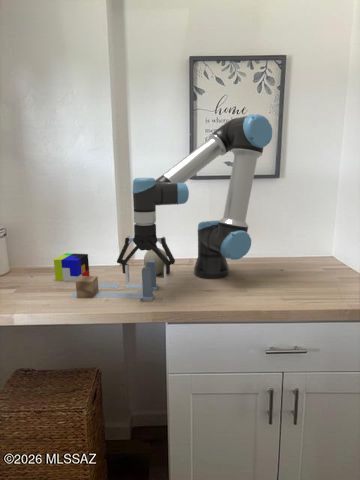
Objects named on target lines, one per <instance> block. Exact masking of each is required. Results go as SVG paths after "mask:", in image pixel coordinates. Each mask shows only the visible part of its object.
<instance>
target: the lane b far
mask: <svg viewBox="0 0 360 480" xmlns="http://www.w3.org/2000/svg"><path fill="white" fill-rule="evenodd" d="M120 285H121V283H118V282H117V283H113V282H112V283H110V282H109V283H108V282H105V283H104V282H103V283H101V282H98V289H118V288H119V286H120Z"/></svg>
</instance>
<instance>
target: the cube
mask: <svg viewBox="0 0 360 480" xmlns="http://www.w3.org/2000/svg"><path fill="white" fill-rule="evenodd" d="M98 278H99V275H90V276H81V277H80V278H79V279H78V280H77V281H76V282H75V289H76V290H75V292H77V297H76V298H83V299H84V298H85V299H86V298H93V299H94V298H95V297H94V296H95V295H96V294H97V293H98V292H100V291H99V288H98V283H99V279H98Z"/></svg>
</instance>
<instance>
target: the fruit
mask: <svg viewBox="0 0 360 480" xmlns="http://www.w3.org/2000/svg"><path fill="white" fill-rule="evenodd" d="M155 245H156V246H157V243H156V244H155ZM158 249H159V250H160V251H161V252H162V253H163V254H164V256H165V257H166V258H167V259H168V260H169V258H168V256H167V254H166V253H165V251H164V249H162V248H159V247H158ZM148 260H156V276H158V275H161V274H164V265H165V263H164V262H163V261H162V260H161V259H160V258H159V257H158V255H157V254H156V253H155V252H154V251H153V250H152V249H151V250H150V251H147V250H146V252H145V254H144V257H143V264H144V267H147V263H146V262H147V261H148Z"/></svg>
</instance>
